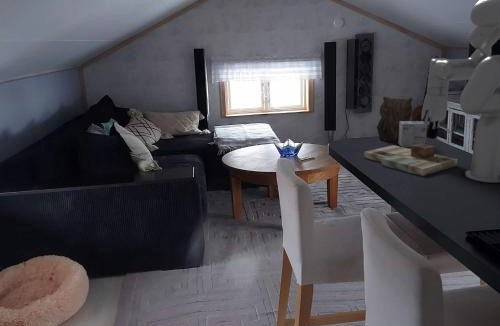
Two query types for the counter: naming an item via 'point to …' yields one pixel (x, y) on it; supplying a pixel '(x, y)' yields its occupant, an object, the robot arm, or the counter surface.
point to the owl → (393, 116)
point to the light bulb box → (411, 133)
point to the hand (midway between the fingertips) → (431, 137)
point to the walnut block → (422, 151)
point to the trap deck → (409, 160)
